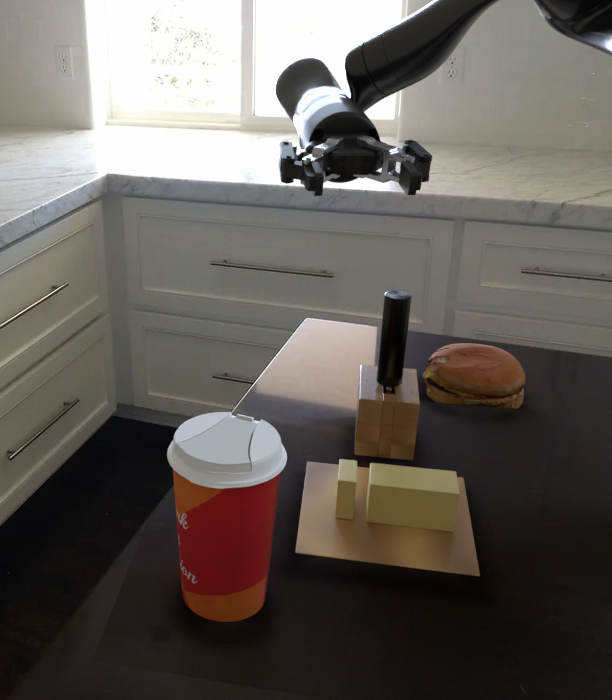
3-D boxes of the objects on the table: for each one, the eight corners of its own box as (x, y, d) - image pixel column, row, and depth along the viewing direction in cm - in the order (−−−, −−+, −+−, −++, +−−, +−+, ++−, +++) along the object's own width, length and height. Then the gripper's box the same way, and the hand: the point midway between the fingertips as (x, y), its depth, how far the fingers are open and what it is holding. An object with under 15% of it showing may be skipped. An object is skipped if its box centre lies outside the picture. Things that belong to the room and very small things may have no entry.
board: (461, 492, 73) (463, 477, 73) (477, 592, 62) (480, 576, 61) (306, 475, 76) (307, 461, 76) (294, 568, 65) (295, 552, 64)
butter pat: (354, 497, 70) (357, 460, 69) (353, 520, 68) (356, 482, 66) (336, 495, 71) (339, 458, 69) (334, 518, 68) (338, 480, 66)
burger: (542, 406, 87) (550, 364, 85) (467, 425, 84) (473, 382, 82) (474, 368, 95) (480, 329, 93) (403, 384, 92) (407, 344, 90)
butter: (450, 508, 69) (456, 471, 67) (454, 532, 66) (460, 493, 64) (366, 499, 70) (370, 462, 69) (366, 522, 67) (370, 484, 66)
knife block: (408, 435, 82) (416, 368, 79) (411, 474, 76) (420, 404, 73) (354, 430, 83) (360, 364, 80) (353, 468, 77) (359, 398, 74)
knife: (393, 444, 81) (411, 289, 74) (394, 461, 78) (412, 301, 72) (369, 442, 81) (384, 287, 75) (369, 458, 79) (384, 300, 72)
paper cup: (197, 562, 66) (198, 398, 60) (294, 592, 62) (304, 422, 57) (148, 627, 59) (144, 451, 54) (253, 665, 56) (260, 482, 50)
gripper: (271, 102, 91) (291, 146, 77) (407, 100, 91) (451, 144, 77) (267, 171, 95) (285, 225, 81) (398, 169, 95) (439, 223, 81)
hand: (366, 185), depth 79 cm, fingers open, 8 cm apart
